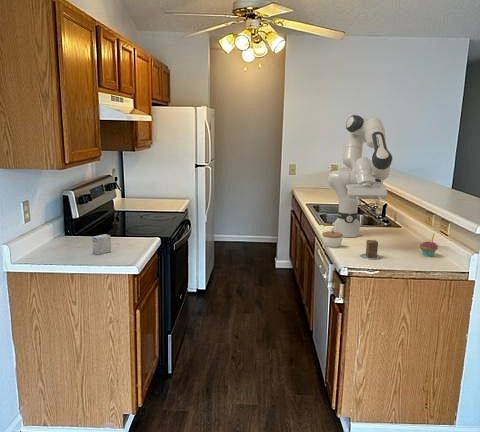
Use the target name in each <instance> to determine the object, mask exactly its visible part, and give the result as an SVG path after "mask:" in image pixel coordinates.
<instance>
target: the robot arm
mask: <svg viewBox="0 0 480 432" xmlns="http://www.w3.org/2000/svg"><path fill="white" fill-rule="evenodd" d="M345 129H346V130H347V131H348V132H349V133H351V134H348V135H347V136H346V139H345V142H344V145H343V153H342V163H343V164H344V166H345V167H347V168H348V169H345V170H344V169H339V170H338V169H336V170H331V171H330V173H328V176H327V183H328V185H329V187H331V189H332V190H334V192H335V193H336V195H337V198H338V211H337V213H336V214H337V215H336V216H337V218H336V219H335V221H334V222H332V227H331V230H330V231H332V230H333V231H334V232H339V233H342V234H343V236H342V238H357V237H360V236H363V233H362V232H361V222H360V221H359V220H358V218H359V212H358V208H359V207H358V206H361V205H362V200H377V201H376V202H375V205H376V206H377V207H378V206H380V205H381V200H386V199H387V197H388V190H387V187H386V185H385V184H384V181H385V180H386V179H388V178H389V175H390V170H391V165H392V162H393V155H392V153H391V152H390V151H389V150H388V148H387V143H386V138H387V137H386V131H385V127H384V124H383V122H382V120H381V119H379V118H378V117H371V118H365V117H362V116H360V115H357V114H353V115H350V116H349V117H348V118H347V120H346V123H345ZM364 143H366V146H367V147H369V148H372V149H373V150H374V151H373V152H372V157H371V159H369V158H368V157H367V156H363V145H364ZM349 169H350V170H349Z"/></svg>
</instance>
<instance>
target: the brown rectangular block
mask: <svg viewBox="0 0 480 432" xmlns="http://www.w3.org/2000/svg"><path fill="white" fill-rule="evenodd" d="M365 245H366V246H365V248H366V249H365V254H366V256H367V257H368V258H377V255H378V251H379V250H378V247H379V241H377V240H376V239H366V244H365Z"/></svg>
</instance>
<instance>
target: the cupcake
mask: <svg viewBox="0 0 480 432" xmlns="http://www.w3.org/2000/svg"><path fill="white" fill-rule="evenodd" d="M434 237H435V233H433V234H432V236H431V240H430V241H424V242H422V243H420V245H419V249H420V250H421V251H422V255H423V256H424V257H430V258H431V257H433V256H434V255H435V252H436V251H438V249H439V246H438V244H436V243H435V242H433V241H434Z"/></svg>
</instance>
